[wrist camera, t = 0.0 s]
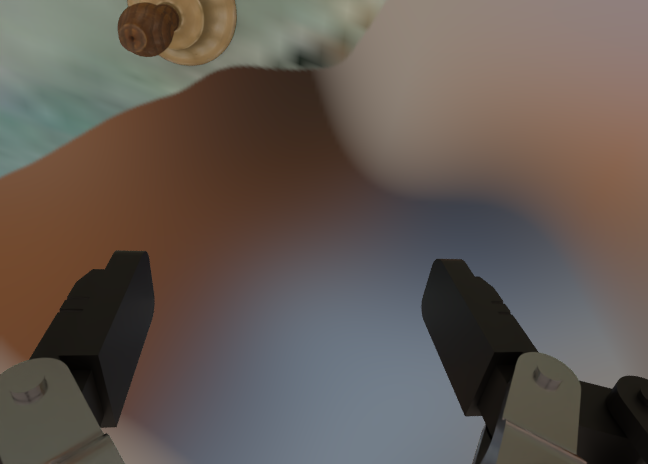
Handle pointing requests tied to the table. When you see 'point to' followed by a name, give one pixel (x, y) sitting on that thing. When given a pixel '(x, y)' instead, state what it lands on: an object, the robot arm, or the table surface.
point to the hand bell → (178, 29)
